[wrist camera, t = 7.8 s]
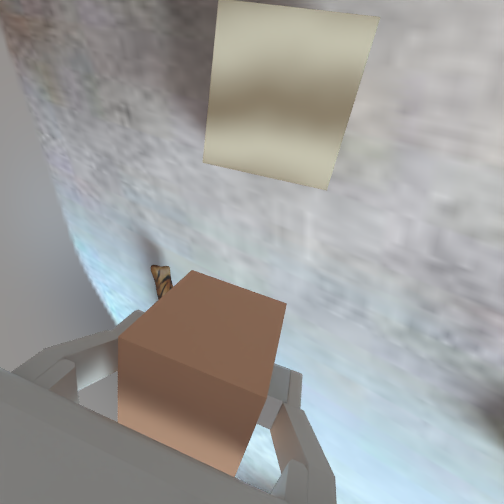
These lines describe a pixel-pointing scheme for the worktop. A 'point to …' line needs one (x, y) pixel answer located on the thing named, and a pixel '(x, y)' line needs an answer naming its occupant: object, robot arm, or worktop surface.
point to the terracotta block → (200, 368)
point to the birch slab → (283, 88)
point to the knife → (162, 279)
